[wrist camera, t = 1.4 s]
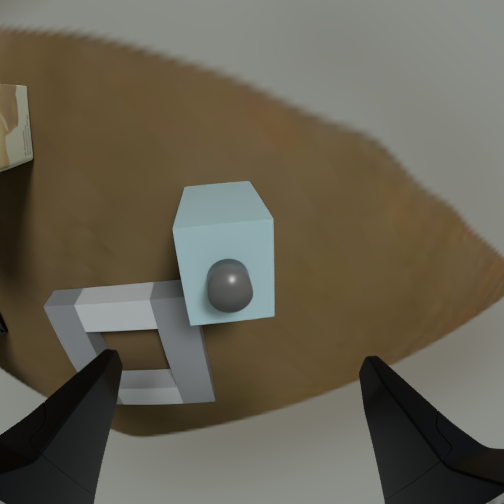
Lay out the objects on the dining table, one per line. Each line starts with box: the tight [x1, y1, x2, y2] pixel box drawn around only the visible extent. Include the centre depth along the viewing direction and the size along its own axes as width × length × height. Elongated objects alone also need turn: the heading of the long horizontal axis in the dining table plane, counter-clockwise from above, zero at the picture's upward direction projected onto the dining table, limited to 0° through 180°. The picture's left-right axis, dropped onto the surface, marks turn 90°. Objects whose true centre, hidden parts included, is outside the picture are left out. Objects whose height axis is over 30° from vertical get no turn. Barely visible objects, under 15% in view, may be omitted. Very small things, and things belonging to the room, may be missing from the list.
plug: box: [173, 181, 274, 326], centre depth 17 cm, size 4×6×10 cm
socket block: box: [44, 279, 215, 405], centre depth 24 cm, size 13×13×2 cm
